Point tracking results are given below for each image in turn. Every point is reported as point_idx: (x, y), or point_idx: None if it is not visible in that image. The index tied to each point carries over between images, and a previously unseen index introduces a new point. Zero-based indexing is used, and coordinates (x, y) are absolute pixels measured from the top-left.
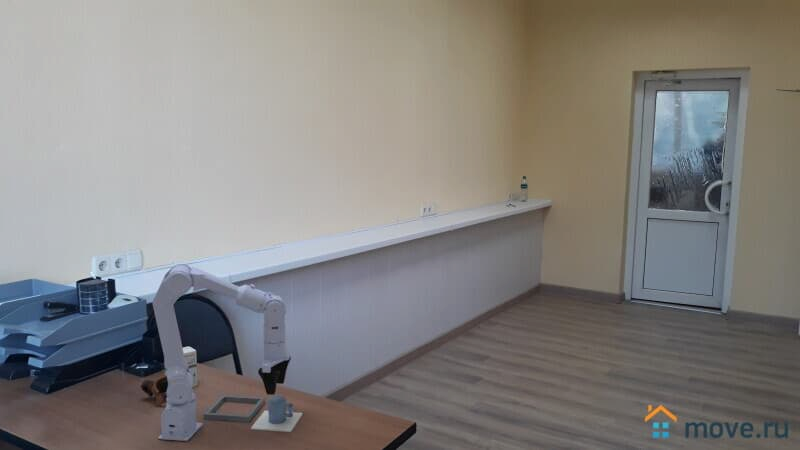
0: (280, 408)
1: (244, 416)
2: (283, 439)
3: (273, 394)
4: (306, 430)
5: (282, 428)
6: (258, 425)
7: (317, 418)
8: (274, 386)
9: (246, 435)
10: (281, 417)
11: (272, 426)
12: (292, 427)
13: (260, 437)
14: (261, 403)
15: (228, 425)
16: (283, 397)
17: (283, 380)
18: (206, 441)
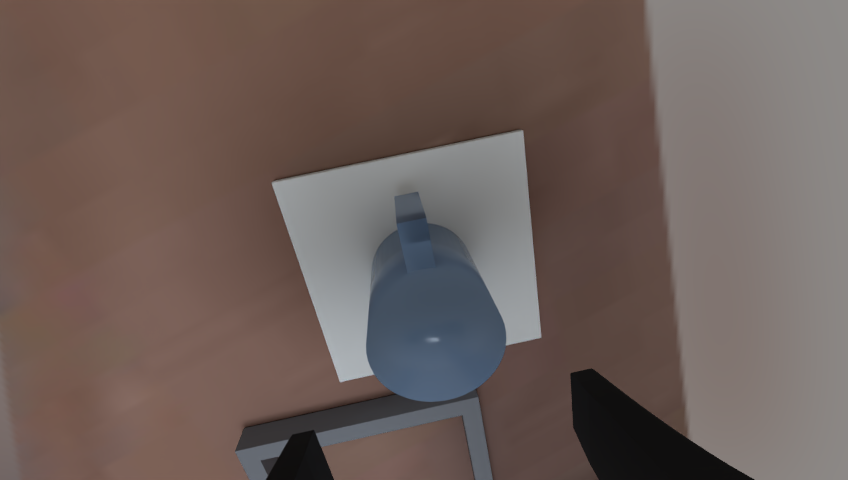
0: (473, 273)
1: (479, 416)
2: (611, 127)
3: (598, 373)
4: (473, 43)
5: (507, 192)
6: (507, 321)
7: (282, 51)
8: (671, 431)
9: (598, 318)
10: (455, 243)
11: (499, 254)
12: (481, 142)
13: (607, 251)
14: (293, 431)
15: (523, 428)
16: (388, 322)
17: (307, 457)
18: (670, 419)
